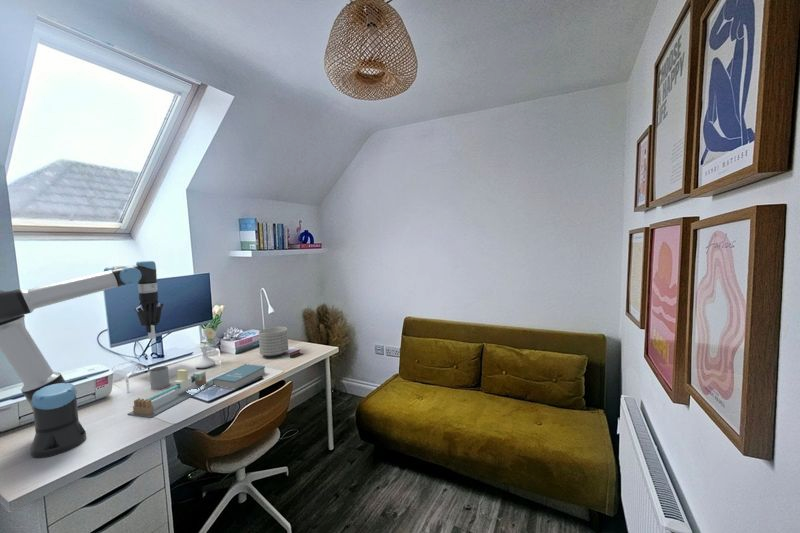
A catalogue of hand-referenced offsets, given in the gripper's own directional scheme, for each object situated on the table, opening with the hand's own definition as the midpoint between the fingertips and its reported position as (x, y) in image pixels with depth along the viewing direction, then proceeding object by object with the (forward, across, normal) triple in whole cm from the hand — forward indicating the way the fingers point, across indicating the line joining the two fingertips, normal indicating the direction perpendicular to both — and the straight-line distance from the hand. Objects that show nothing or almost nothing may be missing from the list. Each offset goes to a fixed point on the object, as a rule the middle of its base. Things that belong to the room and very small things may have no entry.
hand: (151, 338), depth 161 cm
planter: (+33, +72, -18) cm, 81 cm away
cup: (+33, +15, +15) cm, 39 cm away
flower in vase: (+33, +46, +14) cm, 58 cm away
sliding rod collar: (+29, +9, -7) cm, 31 cm away
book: (+33, +31, -24) cm, 51 cm away
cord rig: (+32, +4, -7) cm, 33 cm away
